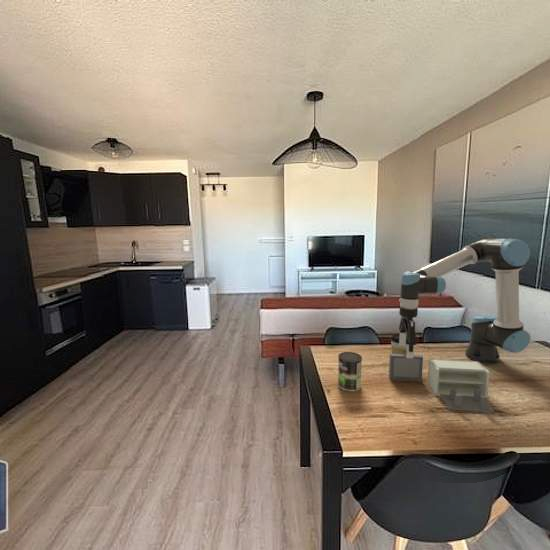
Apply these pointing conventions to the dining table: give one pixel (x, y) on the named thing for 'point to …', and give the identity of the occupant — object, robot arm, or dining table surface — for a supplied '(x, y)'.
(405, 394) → the dining table surface
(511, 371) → the dining table surface
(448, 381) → the cabinet
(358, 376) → the coffee can
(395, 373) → the grey rectangular panel
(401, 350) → the coffee cup
